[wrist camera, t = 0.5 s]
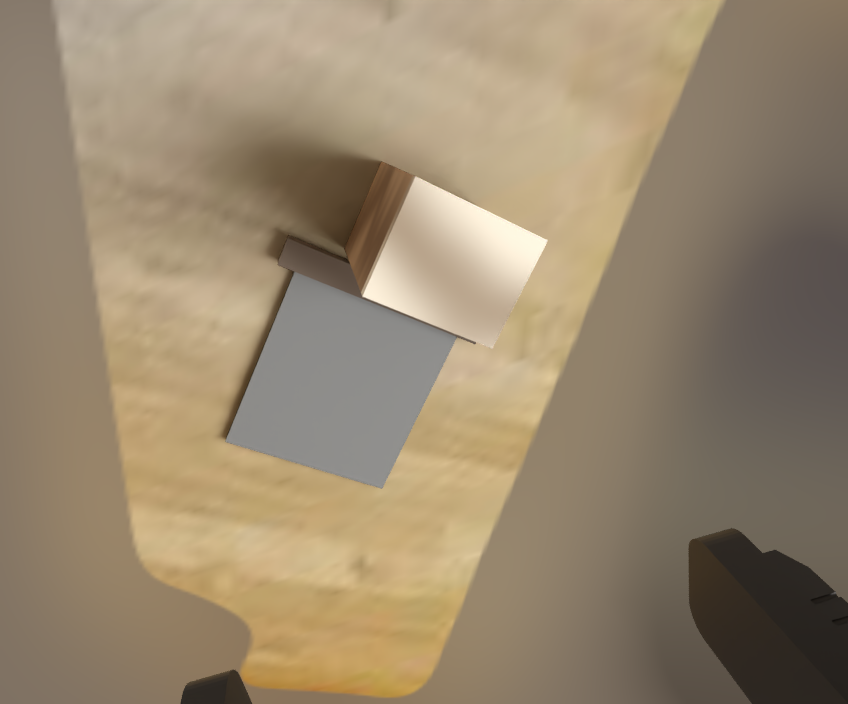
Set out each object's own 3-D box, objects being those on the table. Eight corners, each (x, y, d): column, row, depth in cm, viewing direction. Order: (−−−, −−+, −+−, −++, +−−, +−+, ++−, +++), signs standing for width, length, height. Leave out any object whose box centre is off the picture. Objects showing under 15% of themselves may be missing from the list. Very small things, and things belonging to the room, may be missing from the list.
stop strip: (288, 235, 32) (287, 238, 31) (482, 316, 36) (486, 321, 35) (278, 260, 32) (277, 264, 32) (470, 338, 36) (475, 344, 35)
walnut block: (381, 161, 32) (415, 176, 23) (479, 209, 34) (547, 240, 24) (344, 248, 33) (362, 296, 24) (441, 289, 35) (492, 348, 26)
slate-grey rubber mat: (295, 267, 33) (295, 269, 32) (456, 332, 36) (458, 335, 36) (226, 438, 35) (225, 441, 35) (381, 485, 39) (382, 488, 38)
